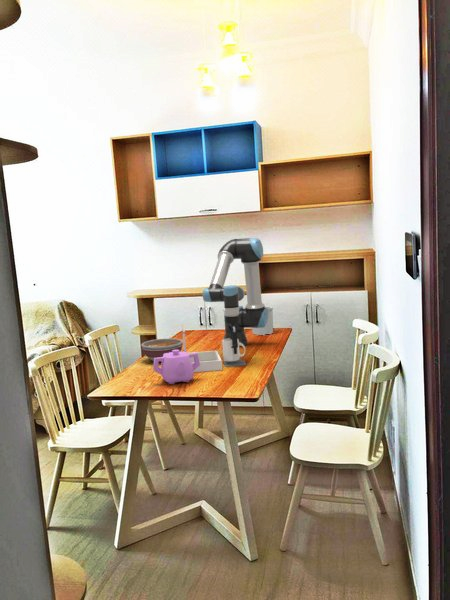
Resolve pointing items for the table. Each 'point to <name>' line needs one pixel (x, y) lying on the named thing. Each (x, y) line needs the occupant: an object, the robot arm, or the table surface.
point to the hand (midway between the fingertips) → (234, 357)
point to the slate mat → (234, 363)
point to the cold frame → (205, 358)
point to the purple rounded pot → (176, 366)
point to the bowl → (160, 347)
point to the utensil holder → (269, 326)
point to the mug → (230, 350)
